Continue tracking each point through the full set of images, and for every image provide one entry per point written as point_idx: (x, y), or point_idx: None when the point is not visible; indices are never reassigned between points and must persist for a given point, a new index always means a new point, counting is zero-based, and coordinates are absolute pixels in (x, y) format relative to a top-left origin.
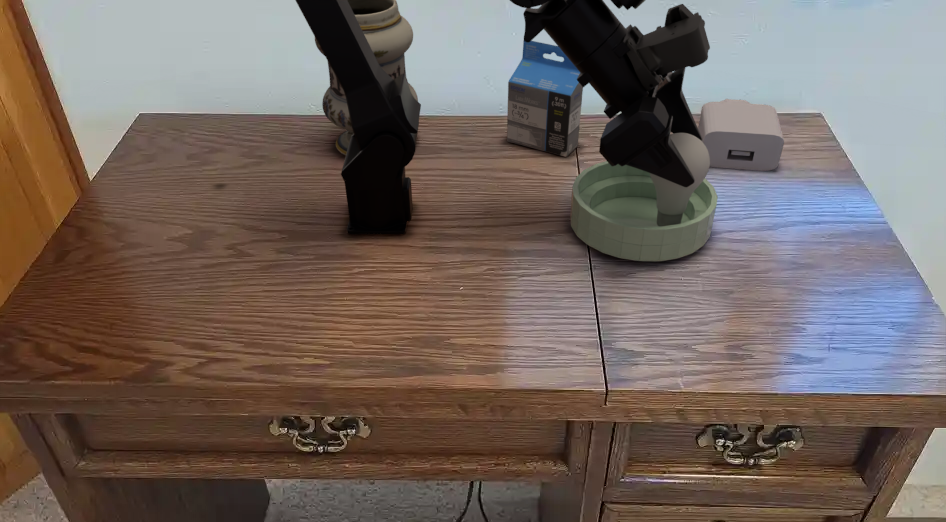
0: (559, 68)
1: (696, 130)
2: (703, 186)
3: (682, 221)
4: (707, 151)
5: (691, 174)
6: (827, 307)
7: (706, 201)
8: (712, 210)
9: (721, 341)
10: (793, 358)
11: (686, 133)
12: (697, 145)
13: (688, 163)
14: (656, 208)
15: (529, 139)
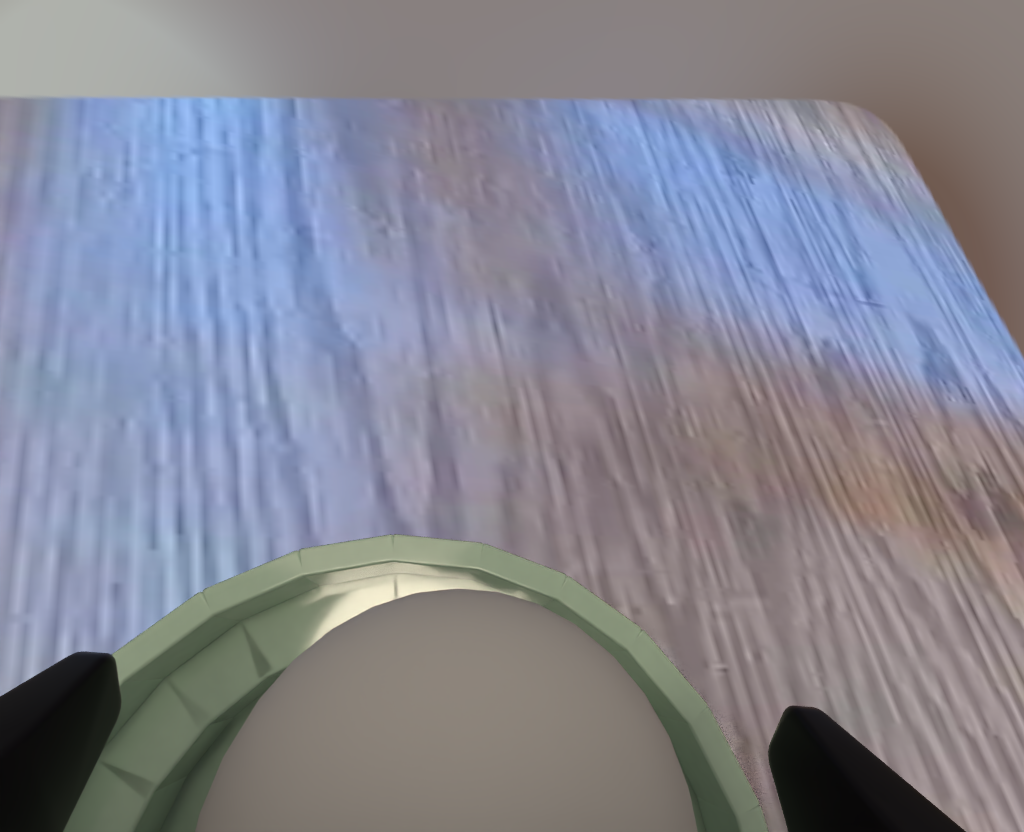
0: None
1: (37, 730)
2: (259, 600)
3: None
4: (464, 616)
5: (840, 746)
6: (719, 279)
7: (330, 582)
8: (529, 562)
9: (966, 545)
10: (943, 380)
11: None
12: (557, 732)
13: (681, 782)
14: None
15: None
